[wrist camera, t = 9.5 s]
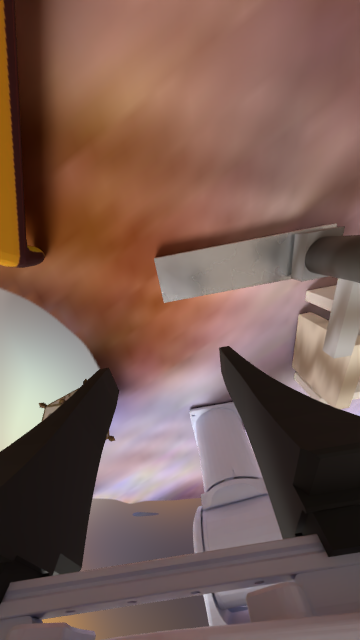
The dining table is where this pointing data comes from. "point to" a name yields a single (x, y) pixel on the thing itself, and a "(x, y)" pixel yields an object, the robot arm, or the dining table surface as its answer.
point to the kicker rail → (228, 266)
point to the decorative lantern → (11, 152)
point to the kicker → (345, 319)
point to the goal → (325, 301)
